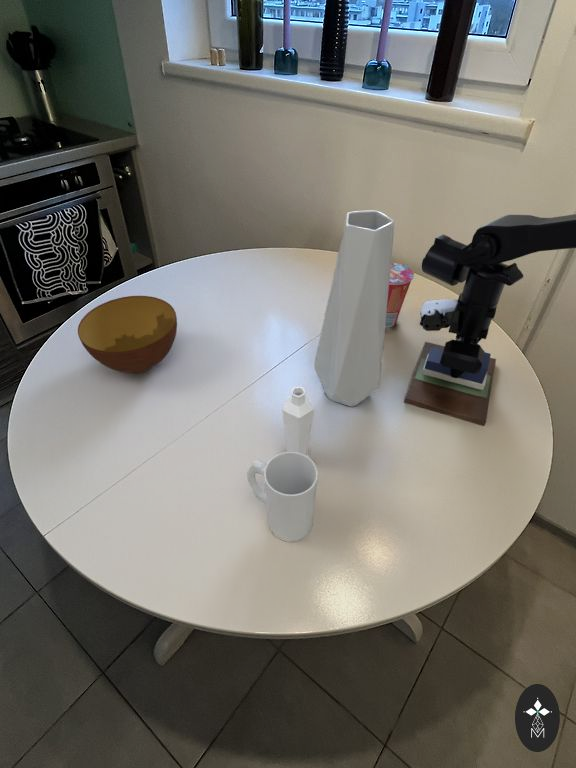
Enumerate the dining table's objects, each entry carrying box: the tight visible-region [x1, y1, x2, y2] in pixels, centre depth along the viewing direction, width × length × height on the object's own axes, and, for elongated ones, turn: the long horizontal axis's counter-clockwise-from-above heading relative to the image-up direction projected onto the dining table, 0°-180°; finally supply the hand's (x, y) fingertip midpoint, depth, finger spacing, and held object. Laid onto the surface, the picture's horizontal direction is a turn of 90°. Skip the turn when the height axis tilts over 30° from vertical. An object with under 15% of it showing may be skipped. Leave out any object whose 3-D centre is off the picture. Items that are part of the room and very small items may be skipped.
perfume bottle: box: [281, 386, 315, 457], centre depth 68 cm, size 5×4×15 cm
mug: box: [246, 451, 319, 543], centre depth 61 cm, size 10×7×12 cm, turn 62°
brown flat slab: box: [403, 341, 497, 427], centre depth 86 cm, size 14×18×1 cm
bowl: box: [77, 295, 178, 374], centre depth 87 cm, size 18×18×10 cm
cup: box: [385, 262, 415, 329], centre depth 96 cm, size 9×8×12 cm
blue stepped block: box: [422, 347, 492, 390], centre depth 83 cm, size 11×5×5 cm, turn 66°
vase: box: [313, 209, 395, 407], centre depth 73 cm, size 12×12×33 cm
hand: (455, 368), depth 84 cm, fingers closed on blue stepped block, 4 cm apart
